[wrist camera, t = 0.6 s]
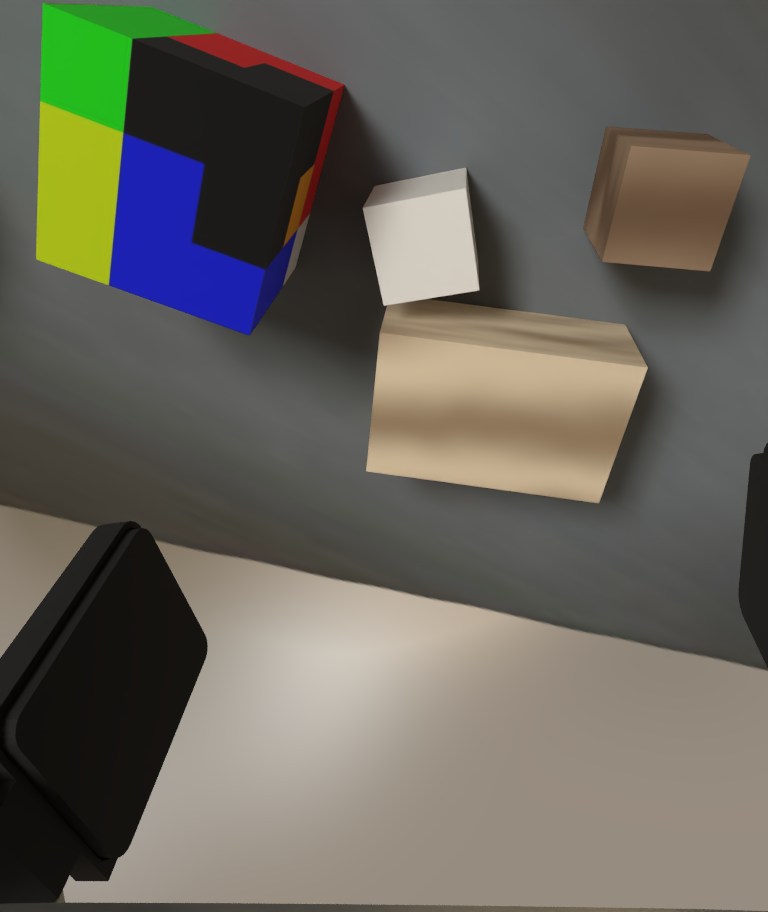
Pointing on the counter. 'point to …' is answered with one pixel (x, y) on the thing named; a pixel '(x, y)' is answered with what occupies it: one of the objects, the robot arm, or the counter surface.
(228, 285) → the puzzle toy
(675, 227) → the walnut block
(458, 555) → the counter surface
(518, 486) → the maple block
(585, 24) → the counter surface
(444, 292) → the offwhite cube
